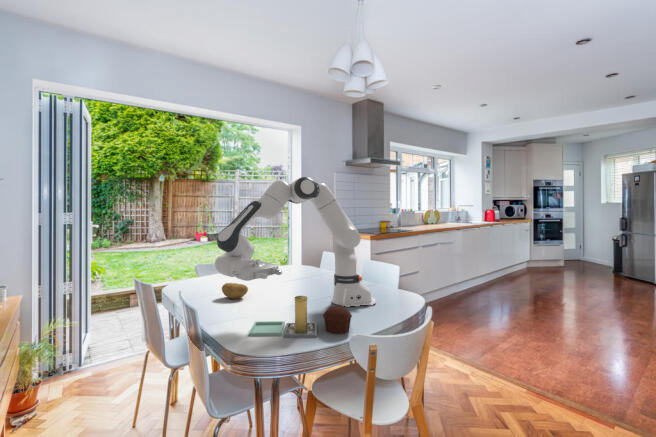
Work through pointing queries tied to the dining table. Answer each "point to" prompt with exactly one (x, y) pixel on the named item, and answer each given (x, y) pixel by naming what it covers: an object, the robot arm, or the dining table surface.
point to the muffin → (337, 319)
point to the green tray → (267, 328)
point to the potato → (234, 290)
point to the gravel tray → (292, 334)
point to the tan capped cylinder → (301, 314)
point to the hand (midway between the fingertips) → (273, 274)
